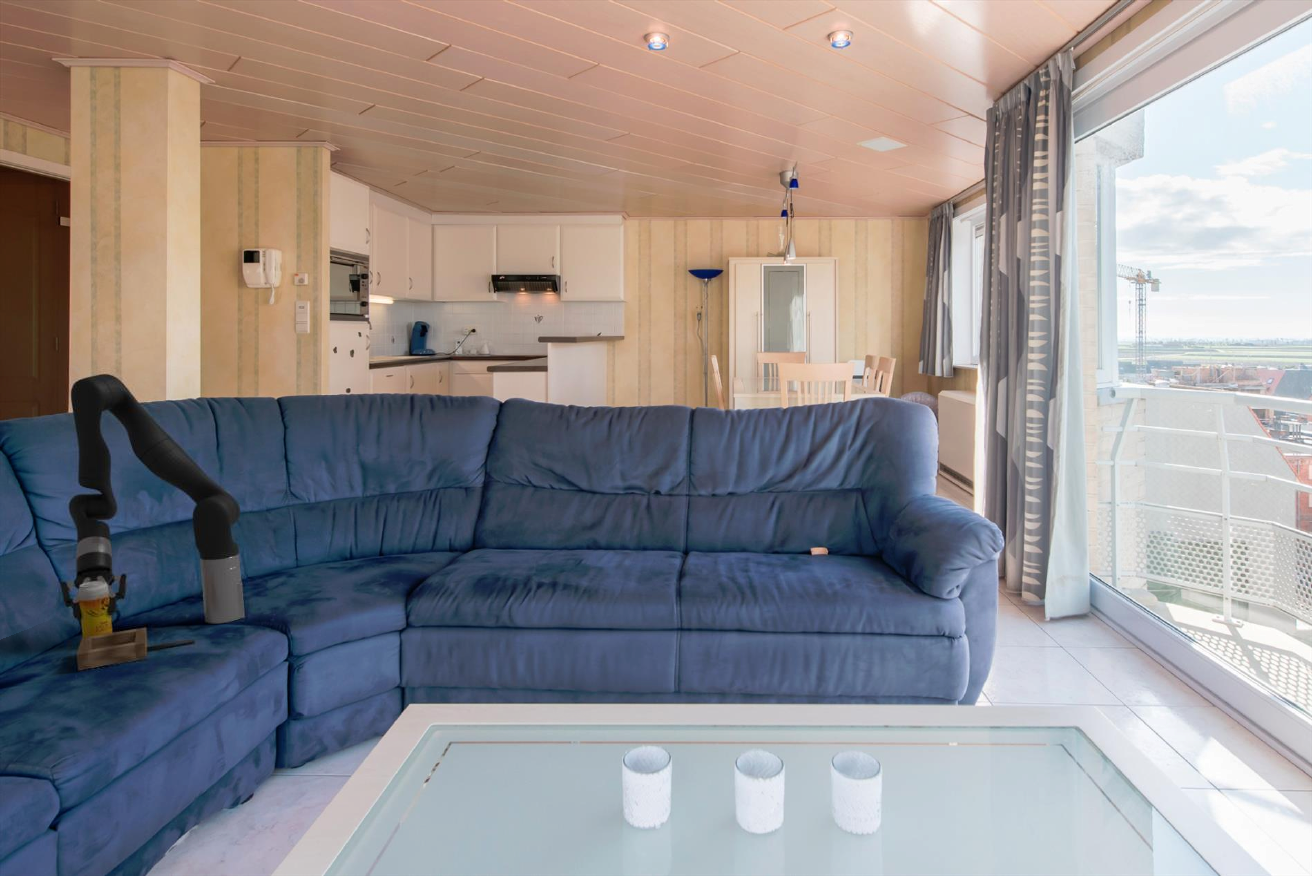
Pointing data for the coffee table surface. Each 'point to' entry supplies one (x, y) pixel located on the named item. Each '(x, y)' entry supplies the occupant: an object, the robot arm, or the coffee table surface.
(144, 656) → the walnut collar
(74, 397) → the robot arm
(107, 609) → the soda can
